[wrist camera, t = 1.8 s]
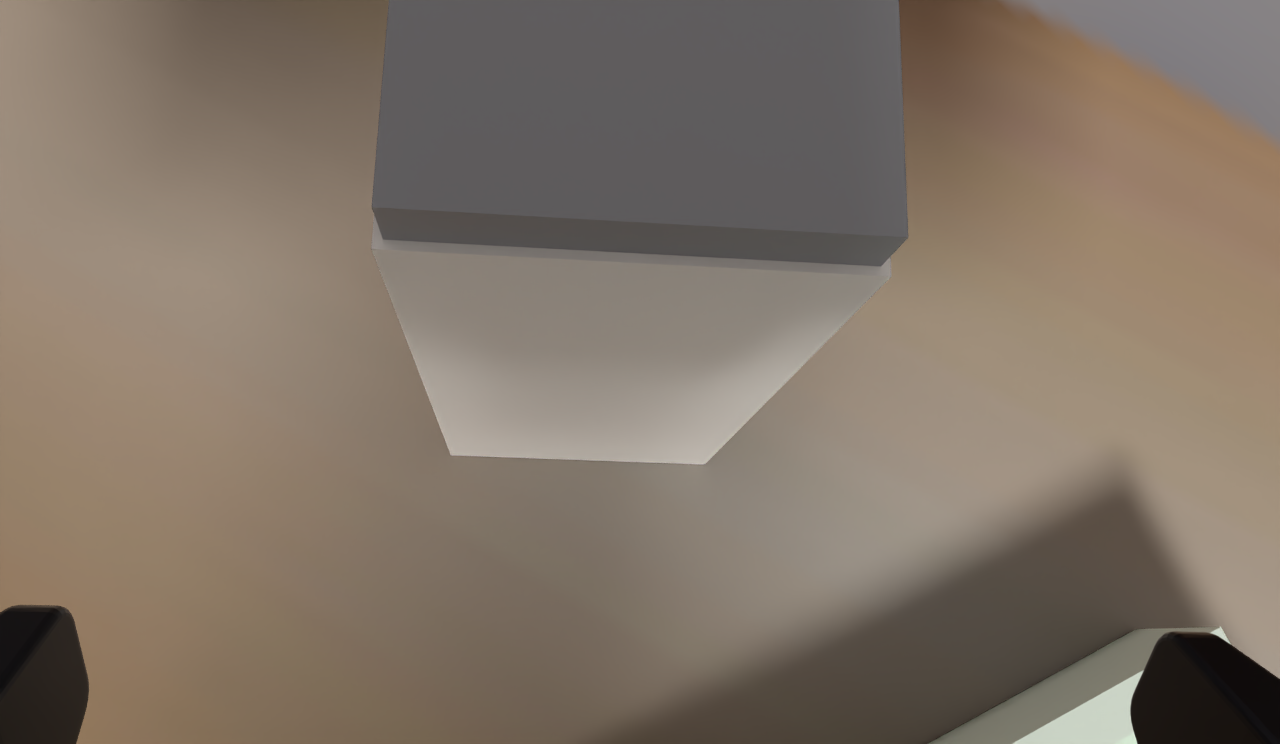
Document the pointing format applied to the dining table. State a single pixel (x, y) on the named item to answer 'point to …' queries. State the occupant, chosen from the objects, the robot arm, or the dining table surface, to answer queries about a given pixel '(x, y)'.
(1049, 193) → the dining table surface
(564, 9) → the white rectangular box
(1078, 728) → the tray
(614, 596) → the dining table surface
